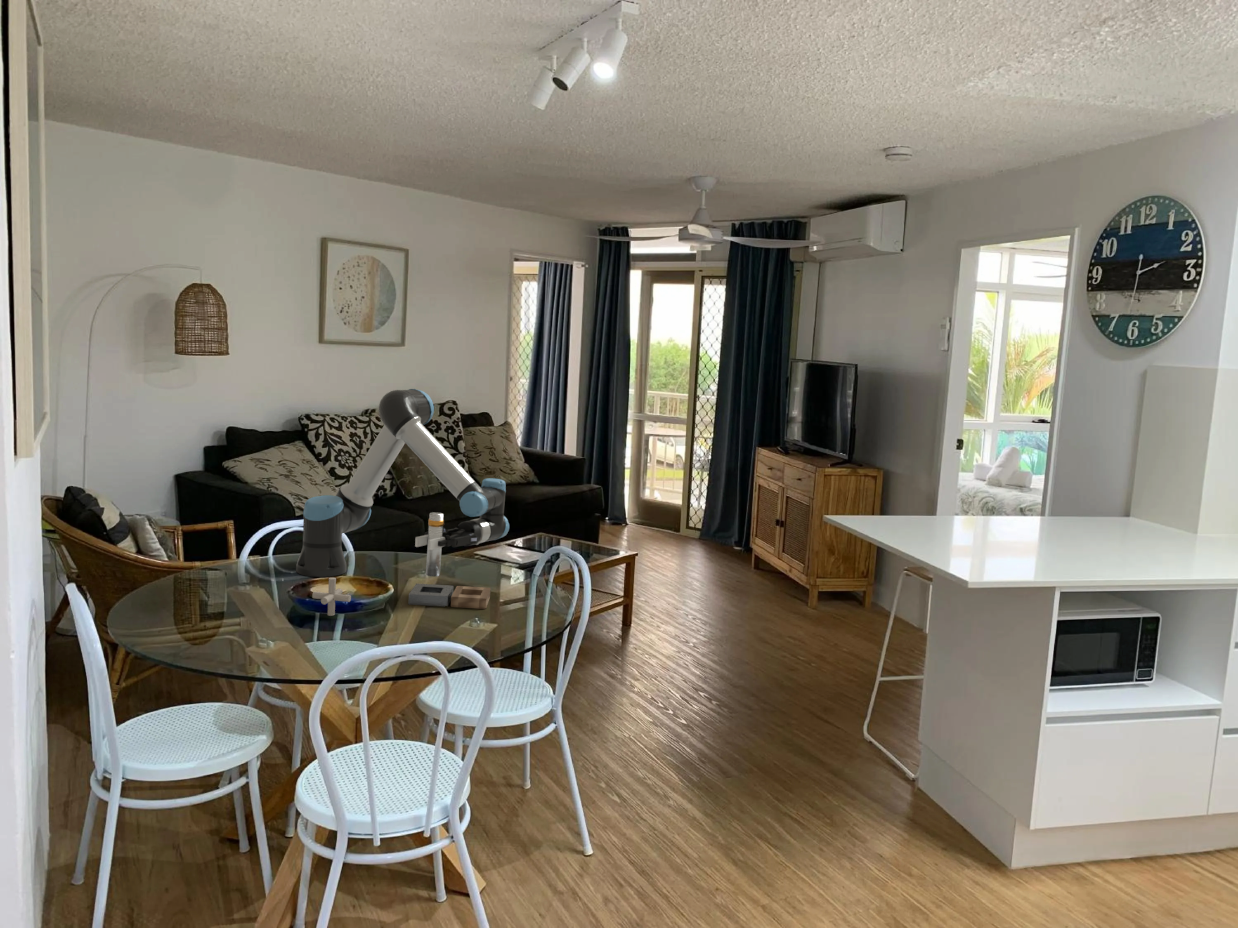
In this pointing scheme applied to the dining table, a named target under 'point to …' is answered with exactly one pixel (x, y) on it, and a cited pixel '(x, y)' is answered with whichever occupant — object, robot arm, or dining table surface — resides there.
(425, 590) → the socket block
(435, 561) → the silver banded cylinder
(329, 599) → the pipe connector
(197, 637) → the dining table surface
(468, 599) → the block
